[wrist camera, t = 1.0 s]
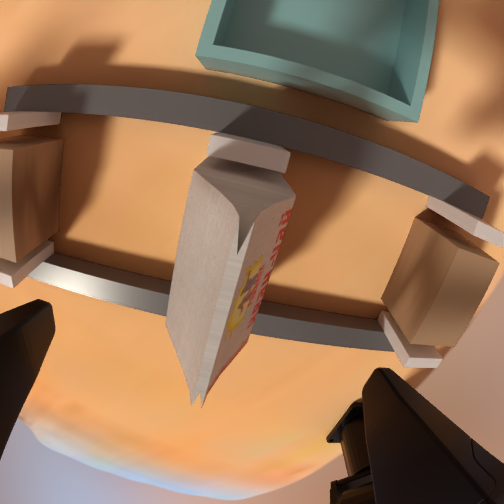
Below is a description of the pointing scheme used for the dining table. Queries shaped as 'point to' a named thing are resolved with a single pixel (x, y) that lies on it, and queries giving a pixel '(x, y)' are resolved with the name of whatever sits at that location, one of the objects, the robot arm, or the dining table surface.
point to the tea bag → (223, 264)
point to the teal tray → (328, 49)
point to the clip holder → (253, 153)
